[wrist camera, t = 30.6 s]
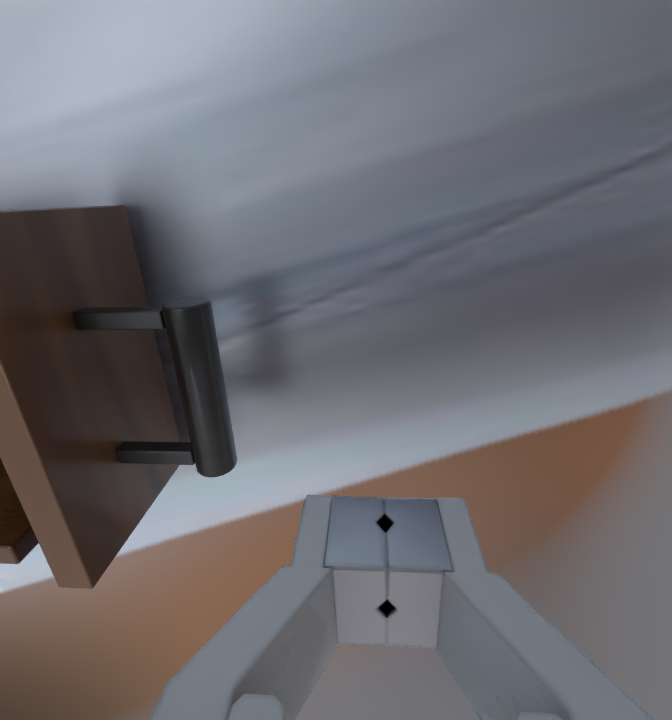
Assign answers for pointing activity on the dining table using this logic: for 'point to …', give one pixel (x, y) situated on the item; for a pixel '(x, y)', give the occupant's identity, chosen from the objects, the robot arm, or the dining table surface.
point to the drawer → (94, 390)
